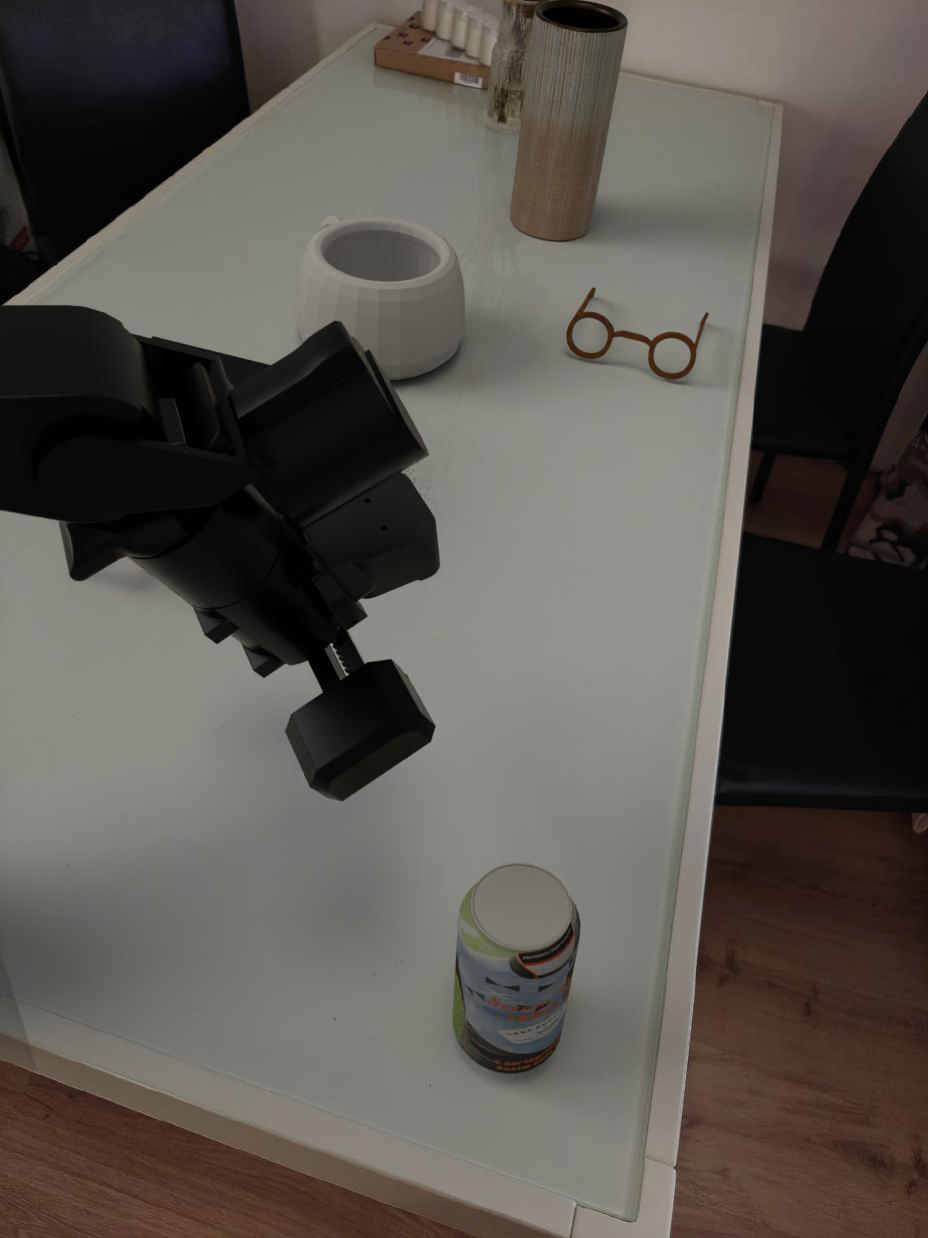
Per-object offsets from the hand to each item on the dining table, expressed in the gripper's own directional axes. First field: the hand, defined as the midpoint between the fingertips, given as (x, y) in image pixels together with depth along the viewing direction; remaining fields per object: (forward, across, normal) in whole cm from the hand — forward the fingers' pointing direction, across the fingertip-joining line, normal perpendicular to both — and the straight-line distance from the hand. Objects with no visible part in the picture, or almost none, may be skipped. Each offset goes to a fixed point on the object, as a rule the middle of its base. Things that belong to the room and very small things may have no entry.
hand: (375, 682), depth 58 cm
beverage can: (+9, -17, +4) cm, 20 cm away
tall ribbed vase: (+36, +65, -38) cm, 84 cm away
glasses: (+34, +39, -35) cm, 62 cm away
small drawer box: (+9, +33, +8) cm, 35 cm away
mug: (+21, +50, -12) cm, 55 cm away
